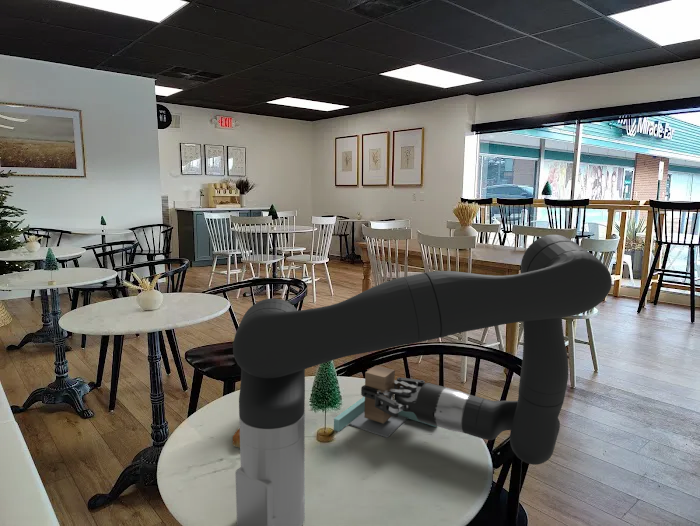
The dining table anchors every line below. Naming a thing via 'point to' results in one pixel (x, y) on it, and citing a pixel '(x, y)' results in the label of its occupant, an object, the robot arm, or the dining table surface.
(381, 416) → the walnut block
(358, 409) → the teal corner fixture
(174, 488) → the dining table surface
